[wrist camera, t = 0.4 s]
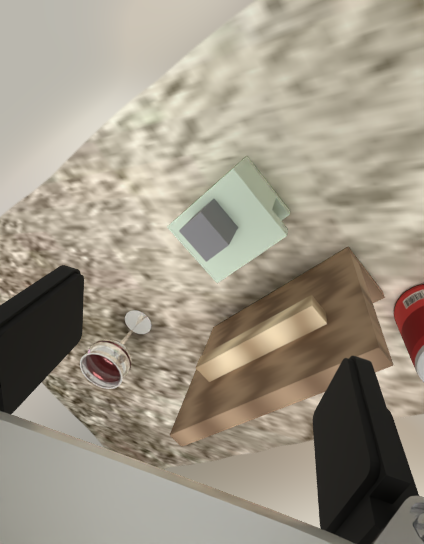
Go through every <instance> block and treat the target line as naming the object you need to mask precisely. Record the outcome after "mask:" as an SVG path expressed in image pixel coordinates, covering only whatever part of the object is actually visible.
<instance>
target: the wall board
mask: <svg viewBox="0 0 424 544" xmlns="http://www.w3.org/2000/svg"><path fill="white" fill-rule="evenodd" d="M383 298H385V297H384V294H383V292H382V290H381V289H380V288H379V286H378V285H377V284H376V282H375V281H374V280H373V278H372V277H371V276H370V275H369V273H368V272H367V271H366V269H365V268H364V267H363V265H362V264H361V263H360V261H359V260H358V259H357V257H356V256H355V255H354V253H353V252H352V251H351V249H350V248H349V247H347V248H345V249H343V250H342V251H340V252H338V253H337V254H335V255H333V256H332V257H330V258H328V259H327V260H325V261H323V262H322V263H320V264H318V265H317V266H315V267H313V268H312V269H310V270H308V271H307V272H305V273H303V274H302V275H300V276H298V277H297V278H295V279H293V280H292V281H290V282H288V283H287V284H285V285H283V286H282V287H280V288H278V289H277V290H275V291H273V292H272V293H270V294H268V295H267V296H265V297H263V298H262V299H260V300H258V301H257V302H255V303H253V304H252V305H250V306H248V307H247V308H245V309H243V310H242V311H240V312H238V313H237V314H235V315H233V316H232V317H230V318H228V319H227V320H225V321H223V322H222V323H220V324H218V325H217V326H215V327H213V330H212V332H211V335H210V337H209V339H208V342H207V344H206V347H205V349H204V352H203V354H202V356H201V357H200V359H199V361H198V363H197V366H196V371H195V374H194V376H193V379H192V381H191V384H190V386H189V389H188V391H187V394H186V396H185V399H184V401H183V403H182V406H181V408H180V411H179V413H178V416H177V418H176V421H175V423H174V426H173V428H172V431H171V433H170V436H171V437H172V438H173V439H174V440H175V441H176V442H177V443H178V444H179V445H181V446H185V445H187V444H190V443H192V442H195V441H198V440H200V439H203V438H205V437H208V436H211V435H213V434H216V433H219V432H221V431H224V430H226V429H229V428H232V427H234V426H237V425H239V424H242V423H245V422H247V421H250V420H252V419H255V418H258V417H260V416H263V415H265V414H268V413H271V412H273V411H276V410H278V409H281V408H284V407H286V406H289V405H291V404H294V403H297V402H299V401H302V400H304V399H307V398H310V397H312V396H315V395H317V394H320V393H323V392H325V391H326V390H327V388H328V386H329V384H330V382H331V380H332V379H333V377H334V375H335V373H336V371H337V369H338V368H339V366H340V364H341V362H342V360H343V359H344V358H348V359H349V358H350V357H351V356H357V357H360V358H363V359H366V360H369V361H371V362H372V365H373V368H374V371H375V372H377V371H380V370H382V369H385V368H388V367H390V366H393V362H392V359H391V356H390V353H389V351H388V348H387V345H386V342H385V339H384V336H383V333H382V330H381V327H380V324H379V321H378V318H377V315H376V312H375V309H374V306H373V304H372V303H374V302H376V301H379V300H381V299H383Z"/></svg>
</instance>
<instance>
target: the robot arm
mask: <svg viewBox="0 0 424 544" xmlns="http://www.w3.org/2000/svg"><path fill="white" fill-rule="evenodd" d="M83 292H84V277H83V275H81V274H80V271H79V270H78V269H75V268H71V267H68V266H65V265H62V266H60V267H58V268H57V269H55V270H54V271H52V272H51V273H49V274H48V275H46V276H44V277H43V278H41V279H40V280H38V281H37V282H35V283H34V284H32V285H31V286H29V287H28V288H26V289H25V290H23V291H22V292H20V293H19V294H17V295H15V296H14V297H12V298H11V299H9V300H8V301H6V302H5V303H3V304H2V305H0V544H424V497H422V496H419V494H418V491H417V488H416V485H415V482H414V479H413V476H412V474H411V470H410V468H409V465H408V461H407V458H406V455H405V452H404V449H403V447H402V444H401V441H400V438H399V435H398V432H397V429H396V426H395V423H394V420H393V417H392V414H391V412H390V411H389V410H388V409H387V408H386V405H385V401H384V398H383V395H382V392H381V389H380V386H379V383H378V380H377V377H376V374H375V371H374V368H373V365H372V362H371V361H369V360H366V359H363V358H360V357H357V356H351V357H350V358H349V359H348V358H344V359H343V360H342V362H341V364H340V366H339V368H338V369H337V371H336V373H335V375H334V377H333V379H332V380H331V382H330V384H329V386H328V388H327V390H326V391H325V393H324V395H323V397H322V399H321V401H320V402H319V404H318V406H317V408H316V410H315V412H314V416H313V432H314V446H315V459H316V474H317V488H318V503H319V517H320V527H321V529H320V528H317V527H314V526H312V525H309V524H307V523H304V522H302V521H299V520H297V519H294V518H292V517H289V516H286V515H284V514H281V513H279V512H276V511H274V510H271V509H268V508H266V507H263V506H260V505H258V504H255V503H252V502H250V501H247V500H244V499H241V498H239V497H236V496H233V495H231V494H228V493H225V492H223V491H220V490H217V489H214V488H212V487H209V486H206V485H204V484H201V483H198V482H196V481H193V480H190V479H188V478H185V477H182V476H179V475H177V474H174V473H171V472H169V471H166V470H163V469H160V468H158V467H155V466H152V465H150V464H147V463H144V462H141V461H139V460H136V459H133V458H130V457H128V456H125V455H122V454H119V453H117V452H114V451H111V450H108V449H106V448H103V447H100V446H97V445H95V444H92V443H89V442H86V441H83V440H81V439H78V438H75V437H72V436H70V435H67V434H64V433H61V432H58V431H56V430H53V429H50V428H47V427H45V426H42V425H39V424H36V423H33V422H31V421H28V420H25V419H22V418H19V417H17V416H14V415H11V414H12V413H13V412H14V411H15V410H16V409H17V408H18V407H19V406H20V405H21V403H22V402H23V401H24V400H25V399H26V398H27V397H28V396H29V395H30V394H31V393H32V392H33V391H34V390H35V389H36V387H37V386H38V385H39V384H40V383H41V382H42V381H43V380H44V379H45V378H46V377H47V376H48V375H49V374H50V373H51V371H52V370H53V369H54V368H55V367H56V366H57V365H58V364H59V363H60V362H61V361H62V360H63V359H64V358H65V356H66V355H67V354H68V353H69V352H70V351H71V350H72V349H73V348H74V347H75V346H76V345H77V344H78V342H79V341H80V339H81V336H82V323H83Z"/></svg>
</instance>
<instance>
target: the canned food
mask: <svg viewBox="0 0 424 544" xmlns="http://www.w3.org/2000/svg"><path fill="white" fill-rule="evenodd" d="M394 317H395V321H396V324H397V326H398V328H399V331H400V333H401V336H402V338H403V341H404V343H405V346H406V348H407V351H408V353H409V355H410V358H411V360H412V363H413V365H414V367H415V369H416V372H417V374H418V375H419V377H420V378H421V380H422V381H423V382H424V284H422V285H418V286H415V287H413V288H411V289H409V290H407V291H406V292H405V293H404V294H402V296H401V297H400V298H399V299H398V301H397V303H396V306H395V310H394Z"/></svg>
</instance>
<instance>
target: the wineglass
mask: <svg viewBox="0 0 424 544" xmlns="http://www.w3.org/2000/svg"><path fill="white" fill-rule="evenodd" d="M125 322H126V325H127V326H128V328H129V329H130V331H129V332H128V333H127V335H126V336H125V337H124V338H123V339H122V340H121V342H119V341H116V340H111V339H104V340H100V341H98V342H96V343H95V344H93V345H92V346H91V347H90V348H89V350H88V352H87V354H86V355H84V356H83V357H82V358H81V360H80V368H81V370H82V372H83V374H84V375H85V377H86V378H87V379H88V380H89V381H90V382H92V383H93V384H95V385H97V386H99V387H102V388H107V389H112V388H116V387H118V386H119V385H120V384H121V382H122V379H123V378H124V377H125V376H126V375H127V374H128V372H129V370H130V368H131V360H132V359H131V356H130V353H129V351H128V349H127V348H126V346H125V345H124V344H125V343H126V341H127V340H128V338H129V337H130V335H131V334H132V332H135V333H138V334H145V333H147V332H149V331H150V329H151V321H150V320H149V318H148V317H147V316H146V315H145V314H144V313H142V312H140V311H135V310H133V311H129V312H128V313H127V314H126V316H125Z"/></svg>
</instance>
